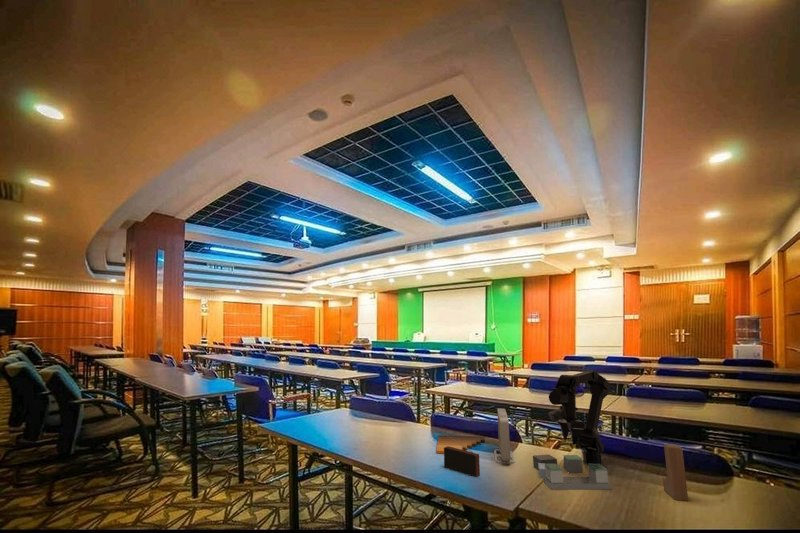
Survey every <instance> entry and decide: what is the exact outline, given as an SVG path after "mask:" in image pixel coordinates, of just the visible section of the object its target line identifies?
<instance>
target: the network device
mask: <svg viewBox="0 0 800 533" xmlns="http://www.w3.org/2000/svg"><path fill="white" fill-rule="evenodd" d="M496 410H497V434H498V446H499V448H496V449H494V450H493V455H494V461H495V463H498V464H506V465H513V464H515V462H516V460H515V458H514V454H513V451H512V450H511V448H510V447H511V445H510V424H509V423H510V421H509V418H508V414H507V411H506V409H505V408H496ZM497 452H499V453H497ZM498 458H500V459H501V460H498Z"/></svg>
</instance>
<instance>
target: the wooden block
mask: <svg viewBox="0 0 800 533" xmlns="http://www.w3.org/2000/svg"><path fill="white" fill-rule="evenodd" d="M663 447H664V458H665V467H666V477H662V484H663V485H662V486H663V490H664V492H666V493H667V494H668V495H669V496H670V497H671V498H672V499H673V500H674V501H683V502H684V501H685V502H687V501H689V496H688V487H687V478H686V470H685V469H686V468H685V460H684V452H683V447H681V446H679V445H678V444H674V443H664V444H663Z"/></svg>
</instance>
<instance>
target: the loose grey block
mask: <svg viewBox="0 0 800 533" xmlns="http://www.w3.org/2000/svg"><path fill="white" fill-rule="evenodd" d="M538 463H545V464H557V465H558V458H556V457H554V456H553V455H550V454H538V455H532V465H533V466H532V467H533V468H534V469H535V470H537V471H538V472H539V468H538Z"/></svg>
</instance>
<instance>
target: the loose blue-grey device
mask: <svg viewBox="0 0 800 533" xmlns="http://www.w3.org/2000/svg"><path fill="white" fill-rule="evenodd" d="M538 468H539V471H538V475H539V479H540V478H543V479H542V480H544V477H545V463H538Z"/></svg>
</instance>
